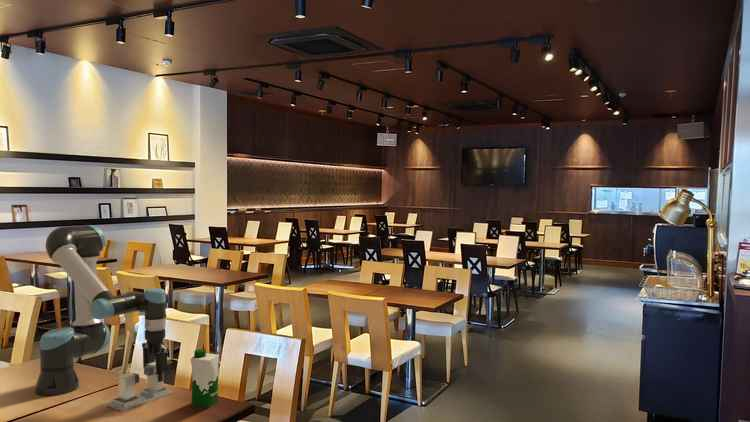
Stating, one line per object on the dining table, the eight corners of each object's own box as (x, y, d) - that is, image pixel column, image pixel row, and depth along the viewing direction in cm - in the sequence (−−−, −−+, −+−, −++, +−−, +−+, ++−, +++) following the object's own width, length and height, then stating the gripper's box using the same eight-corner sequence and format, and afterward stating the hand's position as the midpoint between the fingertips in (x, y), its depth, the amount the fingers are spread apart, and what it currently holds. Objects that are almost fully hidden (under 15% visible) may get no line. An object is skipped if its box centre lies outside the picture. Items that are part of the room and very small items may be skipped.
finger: (156, 386, 220) (156, 361, 219) (163, 388, 218) (163, 363, 217) (143, 390, 215) (143, 365, 214) (149, 392, 213) (149, 367, 212)
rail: (107, 406, 205) (107, 376, 204) (159, 389, 223) (159, 362, 223) (120, 411, 200) (120, 381, 200) (172, 393, 219) (172, 365, 218)
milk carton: (199, 398, 214) (200, 347, 213) (221, 400, 212) (221, 348, 211) (187, 407, 205) (188, 353, 205) (210, 409, 203) (210, 355, 203)
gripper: (133, 327, 217) (133, 386, 218) (160, 334, 208) (160, 395, 209) (149, 323, 224) (149, 381, 224) (177, 330, 214) (177, 389, 215)
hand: (154, 388), depth 217 cm, fingers closed on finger, 4 cm apart
